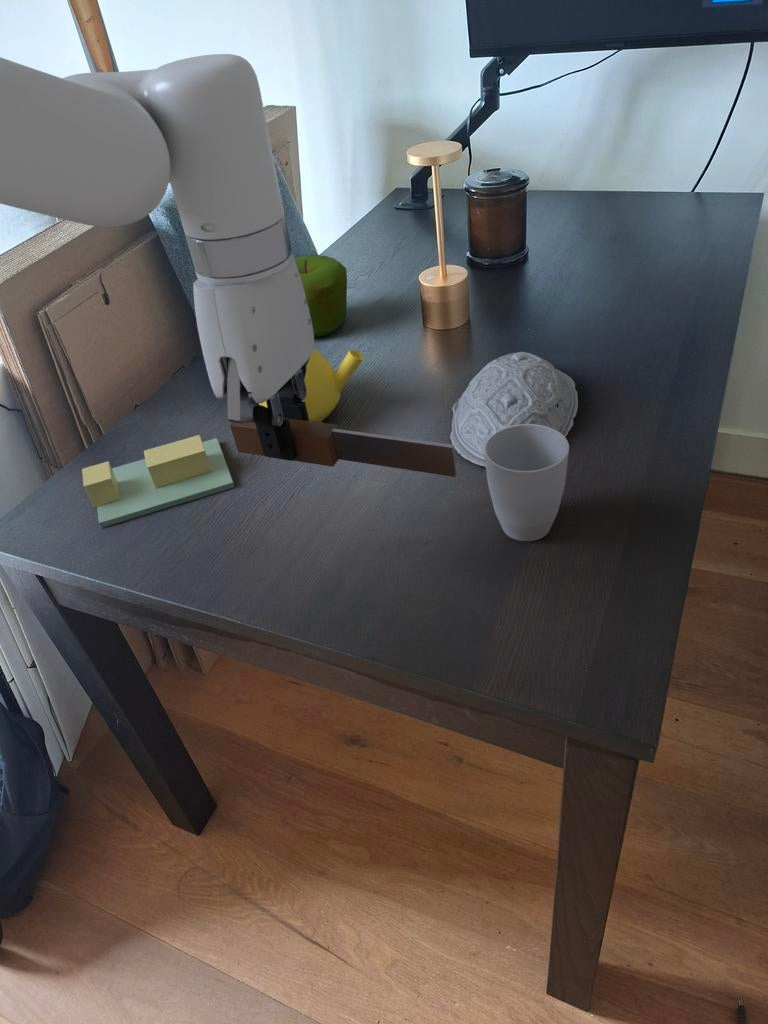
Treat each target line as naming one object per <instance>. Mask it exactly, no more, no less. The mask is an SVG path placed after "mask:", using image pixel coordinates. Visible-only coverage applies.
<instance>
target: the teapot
mask: <svg viewBox="0 0 768 1024" xmlns="http://www.w3.org/2000/svg"><path fill="white" fill-rule="evenodd" d="M364 359H365V358H364V356H363V355H362V354H361V353H360V352H359V351H357V350H355V349H349V351H348V352H347V354H346V355H345V357H344V359H343V360H342V362H341V363H340V365H339V366H338V368H337V370H336V371H335V370H334V368H333V366H332V365H331V364H330V363H329V361H328V360H327V359H326V358H325V357H324V356H323V355H322V354H321V353H320V352H319V351H318V350H317V349H316V348H315V347H314V351H313V353H312V355H311V357H310V359H309V362H308V364H307V366H306V370H307V371H306V374H305V379H304V380H305V385H306V389H307V396H306V398H305V400H302V402H305V404H306V408H307V413H308V418H309V421H312V422H320V423H323V421H324V420H325V419H326V418H328V417H329V416H330V414H332V412H333V411H334V410H335V408H336V407H337V405H338V403H339V401H340V400H341V395H342V390H343V389H344V388H345V386H346V384H347V383H348V382H349V380H350V379H351V378H352V377H353V375H354V373H355V372H356V370H357V369H358V368H359V366H360V365H361V363H362V362H363V361H364ZM259 405H262V406H265V407H267V403H266V401H265V402H263V403H259ZM267 408H268V407H267Z"/></svg>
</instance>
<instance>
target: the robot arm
mask: <svg viewBox="0 0 768 1024" xmlns="http://www.w3.org/2000/svg"><path fill="white" fill-rule="evenodd" d="M262 97H263V96H262V92H261V88H260V84H259V80H258V76H257V73H256V72H255V69H254V67H253V66H252V64H251V63H250V62H249V60H248V59H246V58H244V57H242V56H241V55H236V54H233V53H213V54H204V55H198V56H191V57H185V58H182V59H181V58H180V59H178V60H175V61H174V60H173V61H171V62H167V63H165V64H163V65H160V66H158V67H157V68H152V69H142V70H131V71H130V70H129V71H105V72H103V71H100V72H83V73H76V74H70V75H66V76H65V77H60V76H56V75H53V74H50V73H47V72H44V71H42V70H39V69H35V68H33V67H29V66H28V65H24V64H21V63H18V62H15V61H12V60H10V59H7V58H4V57H1V56H0V205H5V206H8V207H13V208H15V209H21V210H24V211H29V212H32V213H35V214H36V213H37V214H40V215H44V216H48V217H52V218H56V219H60V220H65V221H68V222H72V223H76V224H77V223H78V224H81V225H85V226H86V225H87V226H92V227H101V228H102V227H103V228H107V227H108V228H111V227H112V228H113V227H122V226H127V225H132V224H134V223H136V222H139V221H141V220H143V219H144V218H146V217H147V216H149V215H150V214H151V213H153V211H154V210H155V209H156V208H157V207H158V206H159V205H160V204H161V202H162V200H163V198H164V197H165V195H166V193H167V190H168V186H169V184H170V187H171V190H172V194H173V198H174V201H175V204H176V208H177V210H178V215H179V218H180V222H181V226H182V229H183V232H184V237H185V239H186V244H187V247H188V250H189V253H190V259H191V261H192V265H193V268H194V273H195V277H196V278H197V279H196V280H195V281H194V282H193V284H192V287H193V304H194V315H195V319H196V327H197V332H198V337H199V343H200V347H201V351H202V355H203V360H204V365H205V369H206V372H207V376H208V379H209V382H210V383H209V384H210V386H211V389H212V392H213V394H214V396H215V397H216V398H217V399H220V400H221V399H225V398H226V403H227V405H226V407H227V409H226V410H227V411H226V412H227V421H228V422H229V423H230V422H231V423H232V422H236V423H243V424H244V423H248V422H252V423H255V424H256V428H257V431H258V435H259V439H260V443H261V446H262V450H263V453H264V455H265V456H264V457H266V458H272V459H278V460H284V461H291V462H293V460H294V459H295V458H296V457H297V453H296V449H295V445H294V440H293V436H292V431H291V427H290V423H289V420H286V419H283V418H288V419H296V420H305V421H309V418H308V413H307V408H306V404H305V402H302V400H305V398H306V396H307V389H306V385H305V380H304V379H305V374H306V371H307V370H306V366H307V364H308V362H309V359H310V357H311V355H312V353H313V351H314V348H315V345H316V344H315V337H314V334H313V327H312V321H311V316H310V312H309V307H308V303H307V299H306V295H305V291H304V288H303V284H302V281H301V278H300V274H299V271H298V268H297V265H296V262H295V256H294V254H293V249H292V243H291V239H290V234H289V233H290V232H289V228H288V223H287V218H286V214H285V210H284V203H283V197H282V193H281V188H280V184H279V179H278V174H277V169H276V164H275V159H274V154H273V149H272V148H273V147H272V144H271V139H270V133H269V128H268V123H267V119H266V118H267V117H266V113H265V107H264V103H263V98H262ZM265 401H266V403H267V407H268V408H267V407H265V406H262V405H259V403H263V402H265Z"/></svg>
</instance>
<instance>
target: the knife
mask: <svg viewBox="0 0 768 1024" xmlns="http://www.w3.org/2000/svg"><path fill="white" fill-rule="evenodd" d="M283 419H286V420H289V423H290V427H291V431H292V436H293V440H294V445H295V449H296V453H297V457H296V458H295V459H294V460H293V461H294V462H299V463H305V464H312V465H319V466H325V467H332V468H333V467H334V466H335V465H336V464H337V463H338V462H339V460H340V461H347V462H354V463H358V464H359V463H360V464H367V465H372V466H380V467H387V468H392V469H400V470H405V471H406V470H407V471H413V472H420V473H426V474H434V475H439V476H447V477H451V478H456V477H457V461H456V451H455V450H456V449H455V446H454V445H453V444H452V443H450V444H449V443H444V442H436V441H431V440H430V441H429V440H421V439H414V438H406V437H398V436H391V435H384V434H377V433H369V432H362V431H355V430H354V431H353V430H347V429H340V426H339V424H335V423H327V422H326V423H325V422H322V423H320V422H312V421H305V420H296V419H288V418H283ZM229 427H230V429H231V433H232V437H233V441H234V443H235V446H236V450H237V452H238V453H241V454H242V453H243V454H249V455H254V456H255V455H256V456H260V457H261V456H262V457H266V456H265V455H264V453H263V450H262V446H261V443H260V439H259V435H258V431H257V428H256V424H255V423H252V422H248V423H244V424H243V423H236V422H231V423H230V424H229ZM293 461H292V462H293Z"/></svg>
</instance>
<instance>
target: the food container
mask: <svg viewBox="0 0 768 1024" xmlns="http://www.w3.org/2000/svg"><path fill="white" fill-rule="evenodd" d="M578 399H579V396H578V391H577V389H576V383H575V381H574V379H572V377H570V376H569V375H568V374H567V373H565V372H563V371H561V370H560V369H557V368H555V366H554V365H553V364H551V362H549V361H548V360H546V359H543V358H542V357H540V356H538V355H536V354H533V353H530V352H525V351H519V352H511V353H508V354H505V355H502V356H499V357H498V358H496V359H494V360H491V361H490V362H488V363H486V365H485V366H483V367H482V369H480V371H479V372H477V374H475V376H473V378H471V380H470V381H469V383H468V386H467V387H466V389H465V391H463V392H462V394H461V396H460V397H459V398H458V400H457V401H456V402H455V403H454V404H453V406H452V407H451V409H452V412H453V417H452V420H451V422H452V423H451V430H452V431H451V432H450V436H449V438H450V440H451V444H452V445H454V448H455V450H456V451H457V453H458V454H459V455H460V456H462V458H464V459H465V460H468V461H470V462H471V463H473V464H476V465H477V466H481V467H483V468H486V464H485V456H484V444H485V442H486V440H487V439H488V438H489V437H490V436H491V435H492V434H493V433H495V432H497V431H498V430H501V429H503V428H506V427H509V426H513V425H520V424H536V425H542V426H546V427H549V428H552V429H554V430H556V431H558V432H560V433H561V434H562V435H563V436H564V437H565V438H567V435H568V434H569V432H570V430H572V429H571V428H572V427H573V426H574V418H575V417H576V416H577V412H578V408H579V400H578Z"/></svg>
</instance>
